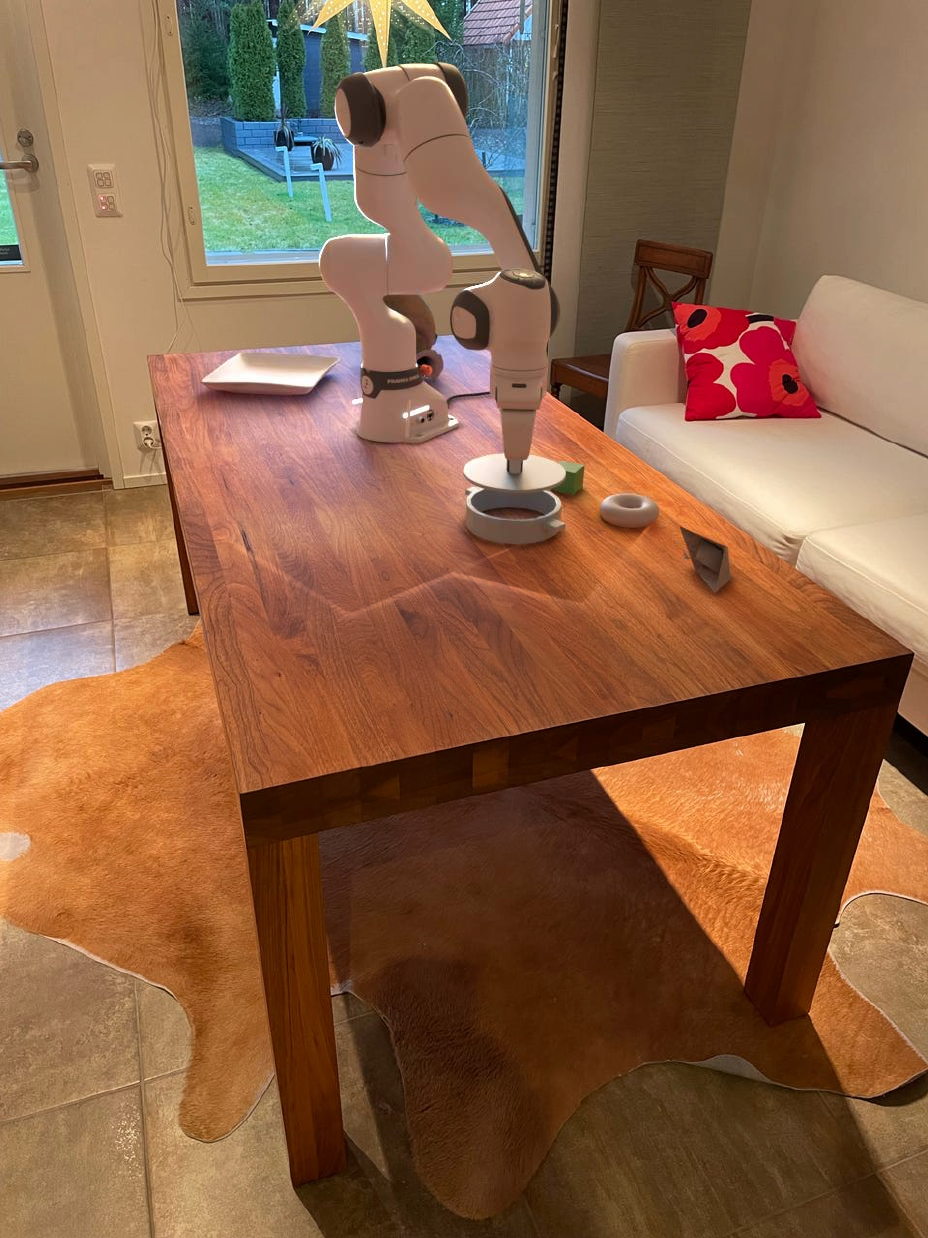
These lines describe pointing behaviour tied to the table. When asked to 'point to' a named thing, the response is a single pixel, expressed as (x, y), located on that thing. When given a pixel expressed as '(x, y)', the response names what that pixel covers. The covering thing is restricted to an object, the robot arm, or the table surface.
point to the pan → (513, 528)
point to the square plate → (270, 373)
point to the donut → (629, 510)
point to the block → (571, 478)
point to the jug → (419, 328)
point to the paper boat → (708, 559)
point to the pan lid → (497, 477)
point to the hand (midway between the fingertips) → (514, 467)
